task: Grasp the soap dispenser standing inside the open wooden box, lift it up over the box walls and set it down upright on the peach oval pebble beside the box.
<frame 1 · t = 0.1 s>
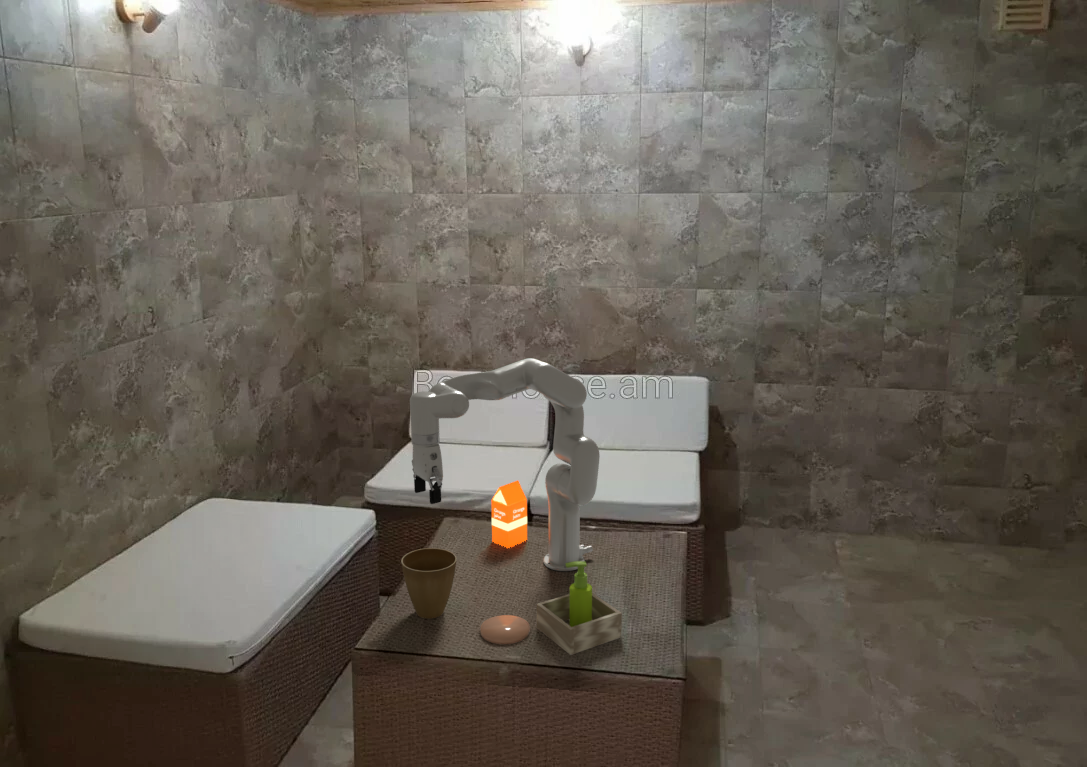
hand: (427, 497, 248), 31 cm above the table, tool pointing down, fingers open, 9 cm apart
open wooden box: (578, 632, 238), on the table
soap dispenser: (578, 633, 238), resting in open wooden box
orange juice: (509, 541, 294), on the table
peach oval pebble: (505, 631, 239), on the table
plant pot: (431, 612, 249), on the table
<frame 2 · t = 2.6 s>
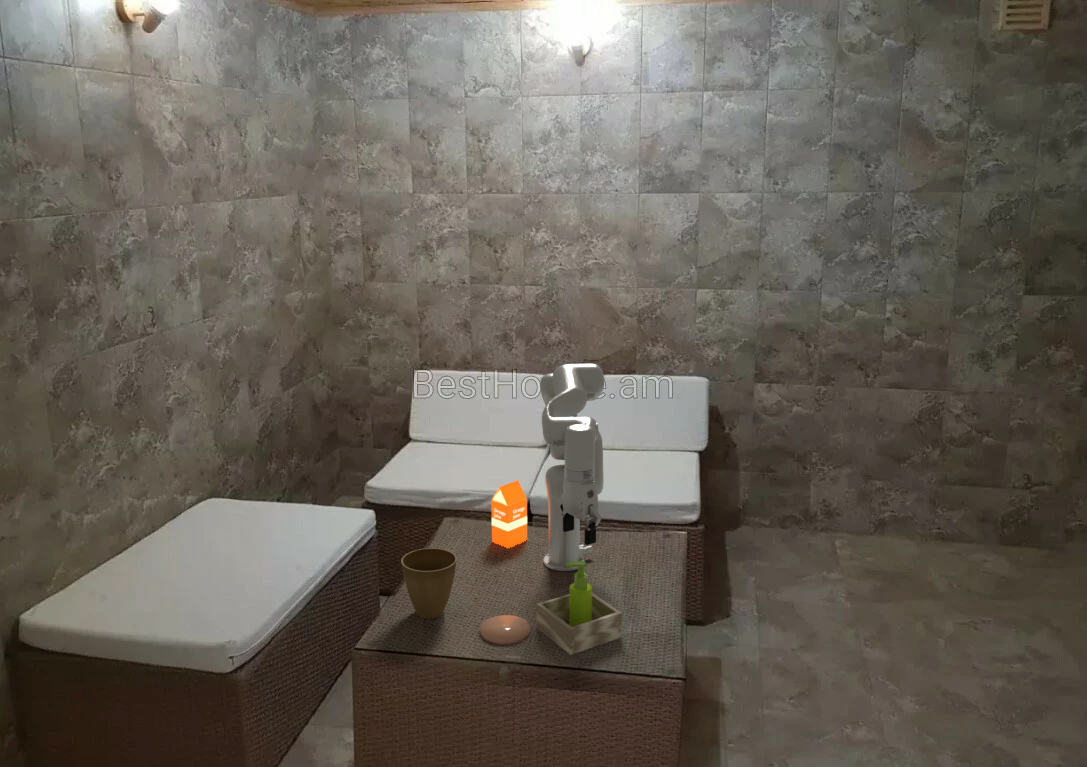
hand: (579, 537, 231), 27 cm above the table, tool pointing down, fingers open, 9 cm apart
nothing on the table moved.
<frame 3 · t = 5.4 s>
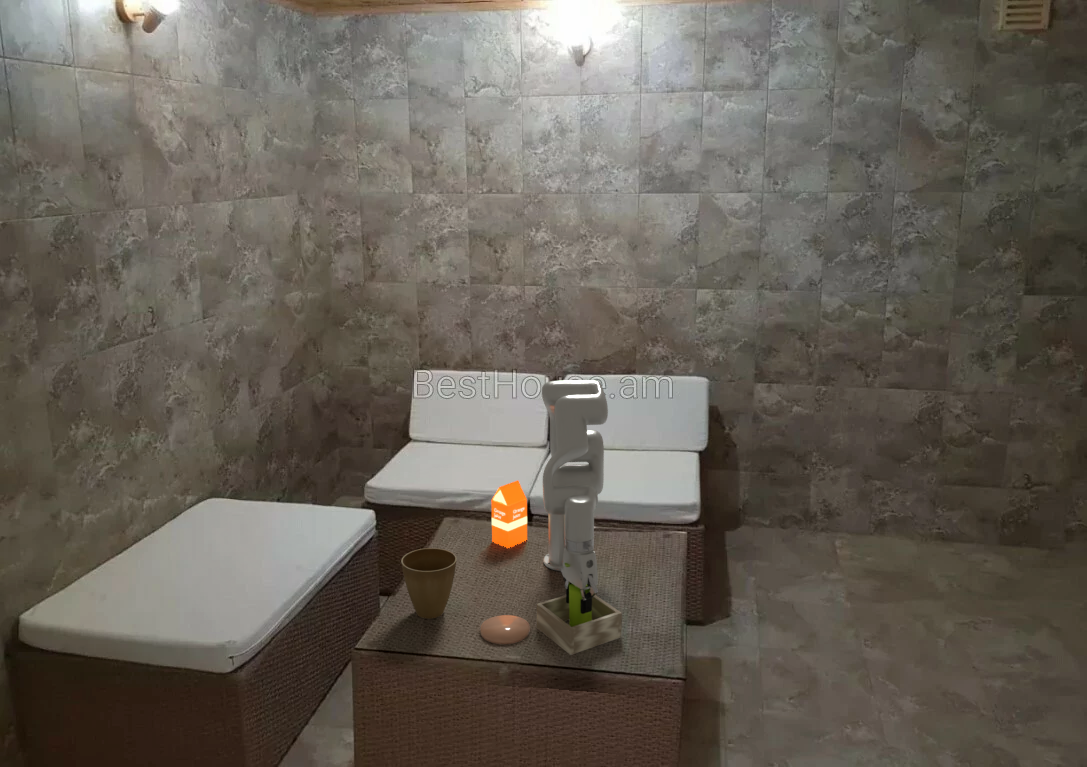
hand: (578, 606, 236), 8 cm above the table, tool pointing down, fingers closed on soap dispenser, 5 cm apart
soap dispenser: (578, 633, 238), resting in open wooden box, touching gripper
everything else where it was.
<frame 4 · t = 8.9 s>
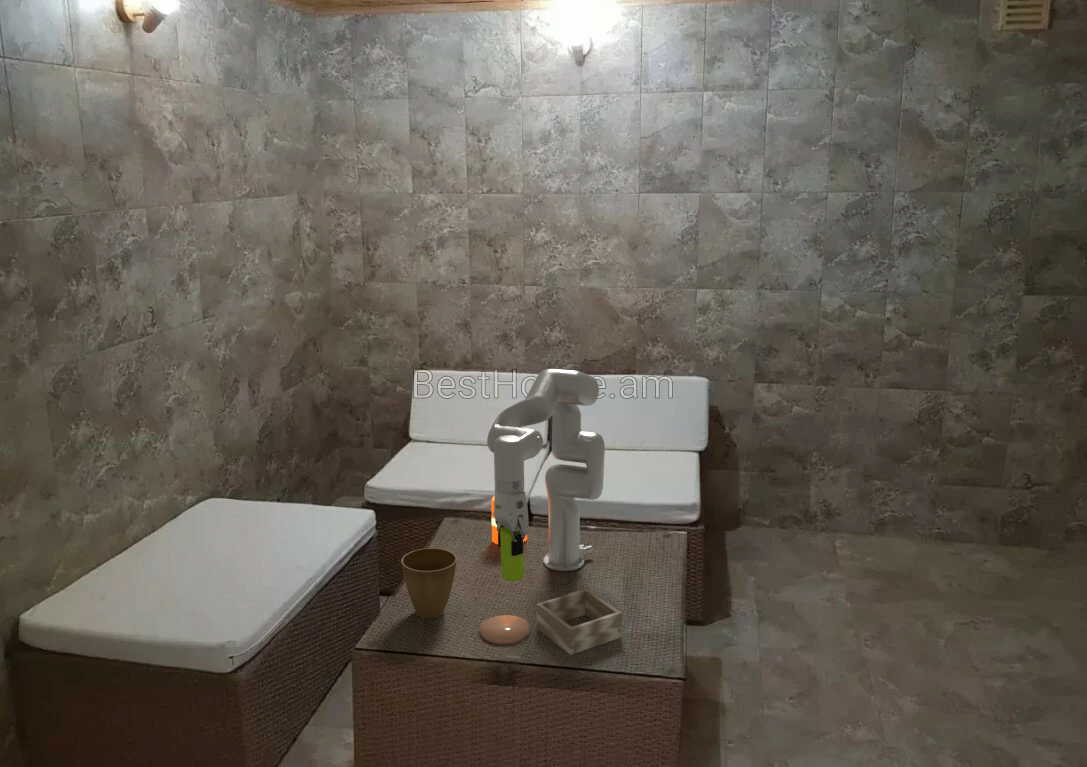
hand: (510, 549, 233), 23 cm above the table, tool pointing down, fingers closed on soap dispenser, 5 cm apart
soap dispenser: (510, 576, 235), point 16 cm above the table, touching gripper
everything else where it was.
when the fingers open (10 cm above the table, at t = 12.4 s): soap dispenser drops 1 cm, resting on peach oval pebble.
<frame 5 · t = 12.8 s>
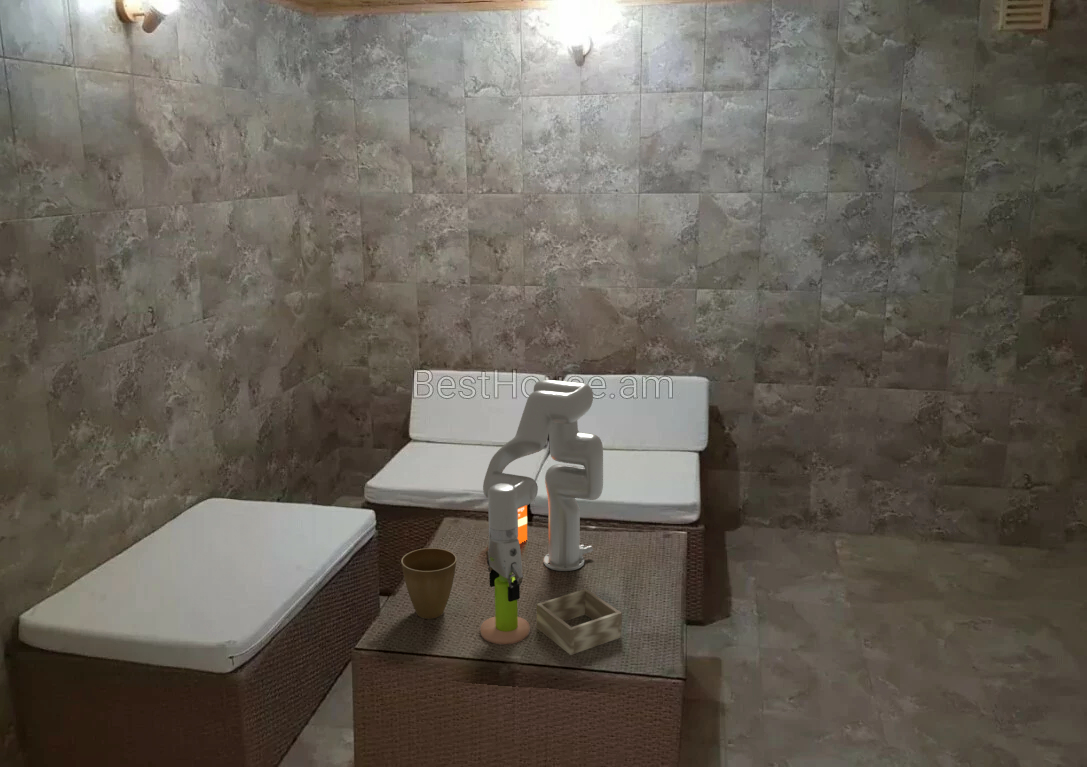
hand: (504, 592, 236), 11 cm above the table, tool pointing down, fingers open, 9 cm apart
soap dispenser: (504, 626, 239), point 1 cm above the table, touching peach oval pebble
everything else where it was.
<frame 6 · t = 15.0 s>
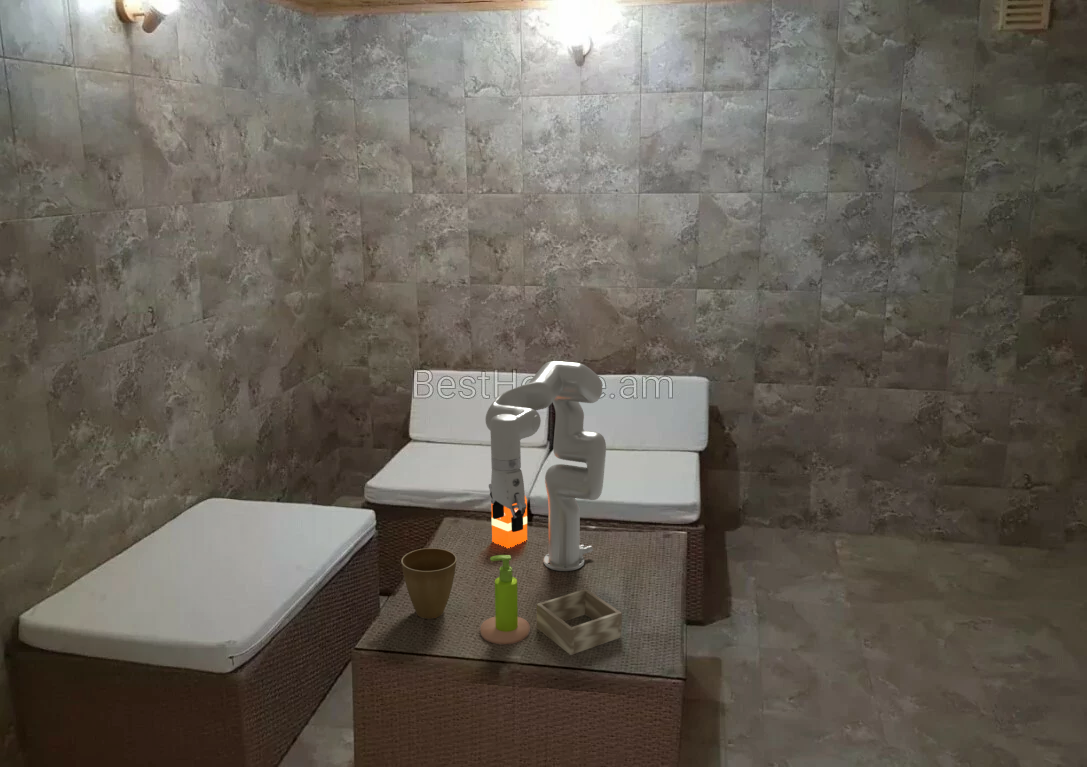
hand: (507, 524, 235), 29 cm above the table, tool pointing down, fingers open, 9 cm apart
nothing on the table moved.
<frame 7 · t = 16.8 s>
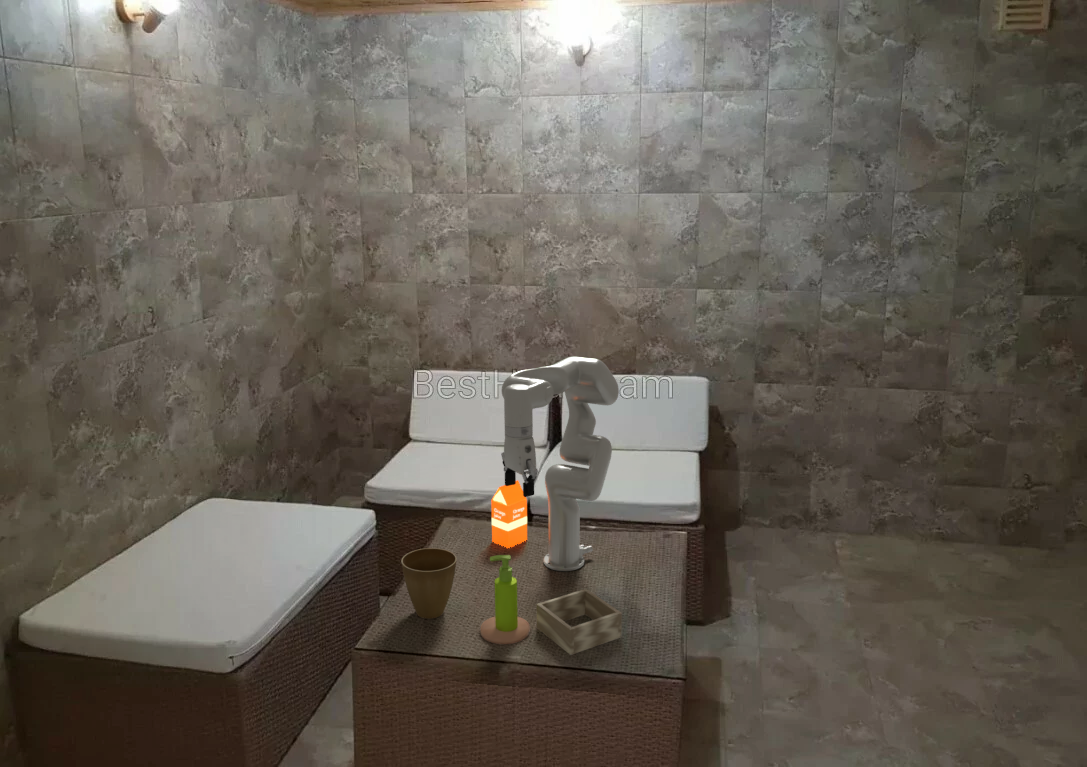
hand: (519, 490, 247), 33 cm above the table, tool pointing down, fingers open, 9 cm apart
nothing on the table moved.
at the end: soap dispenser 0.6 cm from the peach oval pebble (horizontally); soap dispenser tilted 0°; the gripper is holding nothing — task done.
